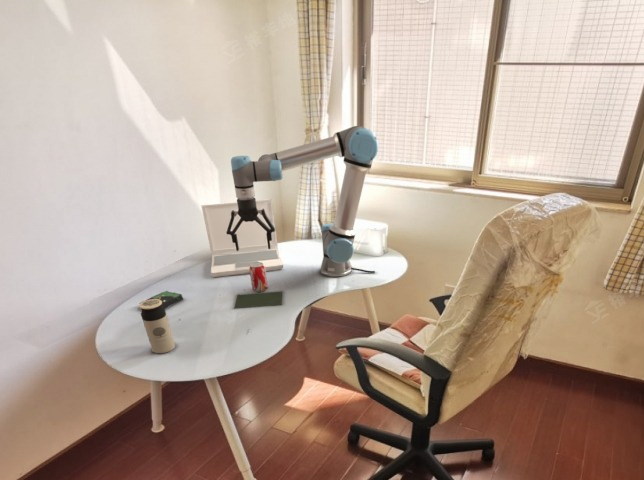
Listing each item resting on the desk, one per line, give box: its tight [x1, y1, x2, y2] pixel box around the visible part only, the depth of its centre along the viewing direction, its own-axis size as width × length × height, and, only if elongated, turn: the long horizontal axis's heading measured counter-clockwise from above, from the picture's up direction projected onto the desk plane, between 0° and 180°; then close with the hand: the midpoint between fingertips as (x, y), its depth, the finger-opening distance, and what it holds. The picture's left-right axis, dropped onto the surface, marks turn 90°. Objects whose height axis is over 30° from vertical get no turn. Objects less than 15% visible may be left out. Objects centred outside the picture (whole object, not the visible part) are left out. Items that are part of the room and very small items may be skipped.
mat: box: [233, 291, 283, 309], centre depth 201 cm, size 20×14×1 cm
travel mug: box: [138, 299, 176, 354], centre depth 163 cm, size 8×8×18 cm
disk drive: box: [138, 290, 184, 310], centre depth 200 cm, size 10×3×15 cm
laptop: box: [201, 198, 284, 278], centre depth 229 cm, size 35×26×28 cm
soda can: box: [249, 262, 269, 293], centre depth 207 cm, size 7×7×12 cm
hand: (253, 249), depth 199 cm, fingers open, 13 cm apart
